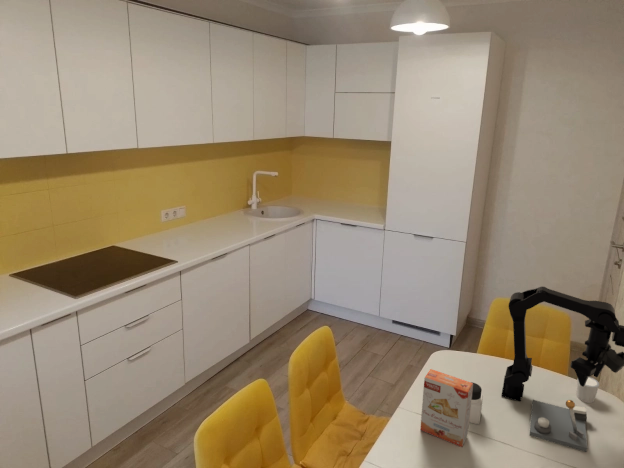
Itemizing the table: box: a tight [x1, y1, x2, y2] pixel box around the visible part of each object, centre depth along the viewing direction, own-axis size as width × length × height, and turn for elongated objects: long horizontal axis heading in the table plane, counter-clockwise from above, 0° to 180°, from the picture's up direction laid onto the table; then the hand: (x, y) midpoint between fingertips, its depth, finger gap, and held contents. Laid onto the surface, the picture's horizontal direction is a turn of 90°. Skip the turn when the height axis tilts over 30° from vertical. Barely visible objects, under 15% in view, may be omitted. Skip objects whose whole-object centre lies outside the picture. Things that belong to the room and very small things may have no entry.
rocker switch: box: [573, 405, 587, 414], centre depth 152 cm, size 4×2×1 cm, turn 62°
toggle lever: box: [565, 399, 578, 433], centre depth 144 cm, size 3×3×10 cm
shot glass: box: [575, 376, 600, 403], centre depth 164 cm, size 7×7×7 cm
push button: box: [538, 418, 549, 428], centre depth 147 cm, size 3×3×1 cm
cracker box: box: [420, 368, 474, 448], centre depth 145 cm, size 14×6×21 cm, turn 56°
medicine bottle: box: [469, 381, 484, 425], centre depth 154 cm, size 7×7×12 cm
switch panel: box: [529, 399, 588, 453], centre depth 150 cm, size 16×18×3 cm
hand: (588, 381), depth 152 cm, fingers open, 9 cm apart
